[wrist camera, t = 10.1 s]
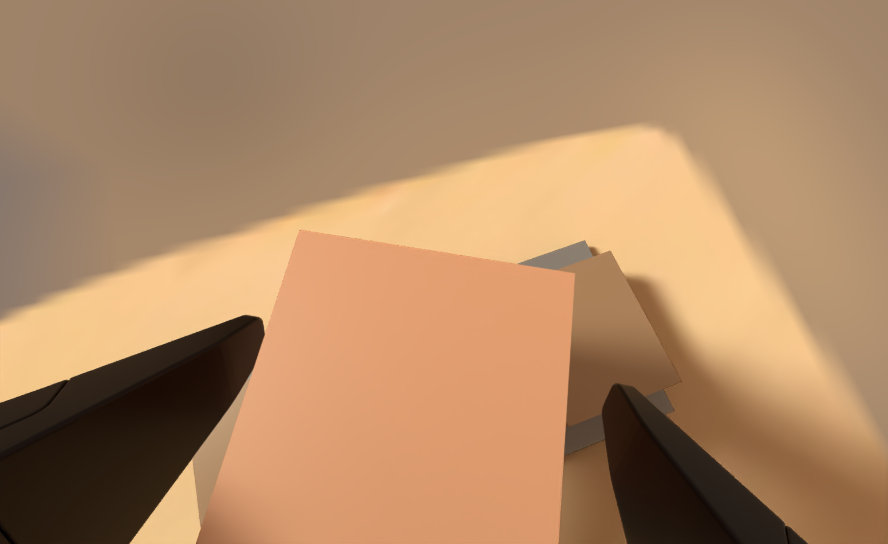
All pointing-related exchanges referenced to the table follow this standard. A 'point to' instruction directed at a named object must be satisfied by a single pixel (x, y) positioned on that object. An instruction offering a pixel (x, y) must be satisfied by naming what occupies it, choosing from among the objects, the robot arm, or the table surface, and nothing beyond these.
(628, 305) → the rail
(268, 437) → the wooden post
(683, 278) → the table surface
